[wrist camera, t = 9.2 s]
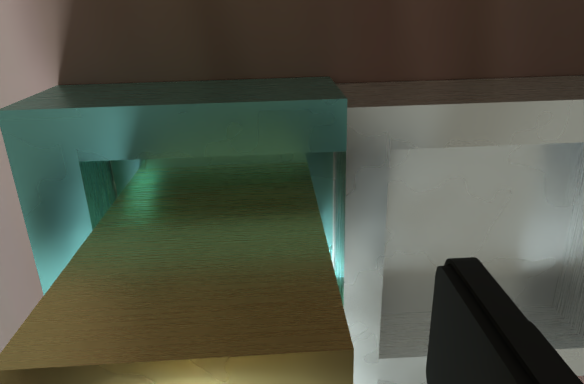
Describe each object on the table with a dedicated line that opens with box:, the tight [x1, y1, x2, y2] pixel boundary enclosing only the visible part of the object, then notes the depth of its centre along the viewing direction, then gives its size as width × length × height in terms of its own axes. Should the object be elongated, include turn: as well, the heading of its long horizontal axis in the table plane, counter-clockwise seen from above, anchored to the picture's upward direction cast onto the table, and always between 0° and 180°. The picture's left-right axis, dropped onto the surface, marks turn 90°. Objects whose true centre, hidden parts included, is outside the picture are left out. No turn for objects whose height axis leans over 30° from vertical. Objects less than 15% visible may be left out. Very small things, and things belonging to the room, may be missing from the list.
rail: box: [0, 75, 584, 384], centre depth 14 cm, size 23×8×3 cm, turn 91°
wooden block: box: [0, 161, 354, 384], centre depth 10 cm, size 4×4×8 cm
